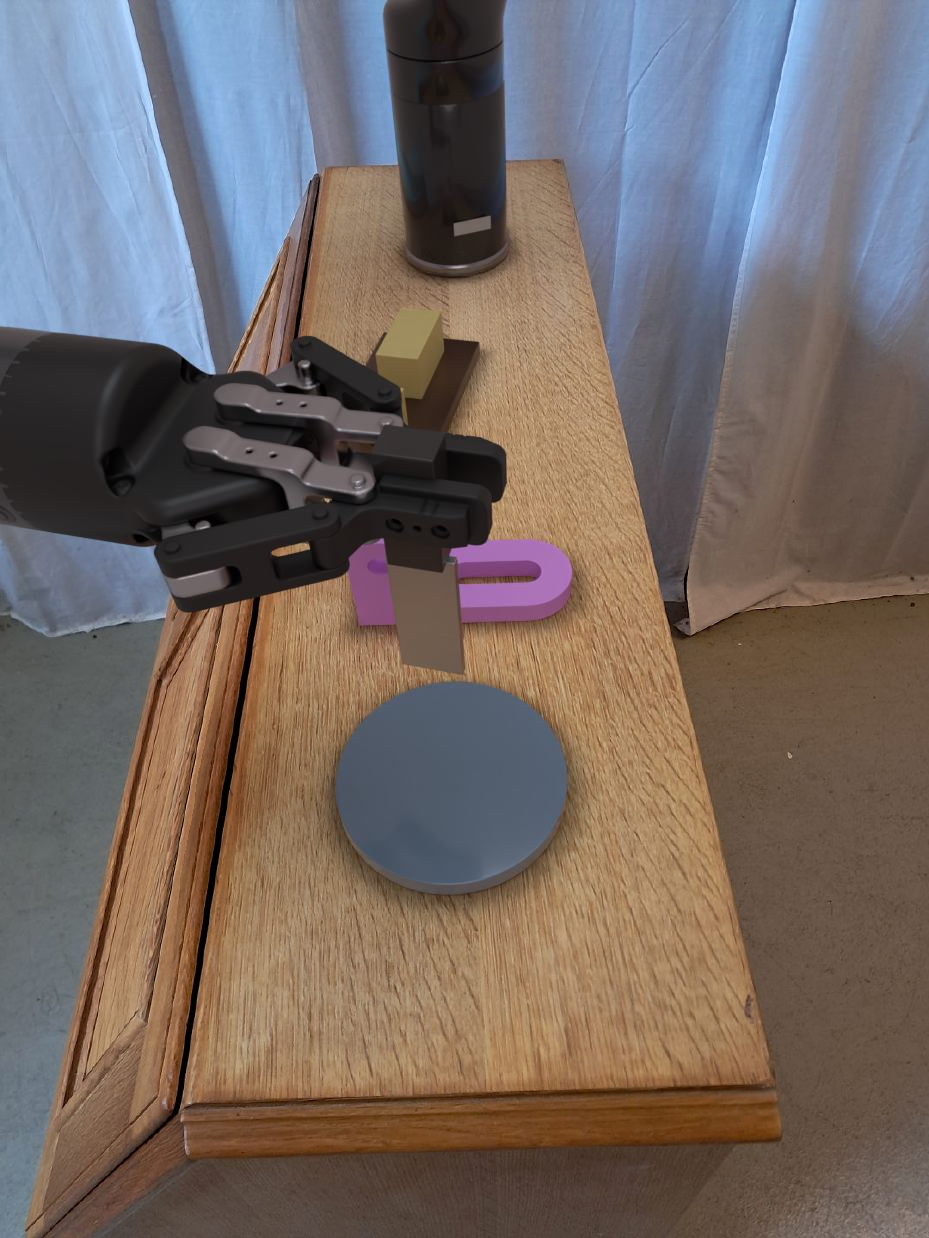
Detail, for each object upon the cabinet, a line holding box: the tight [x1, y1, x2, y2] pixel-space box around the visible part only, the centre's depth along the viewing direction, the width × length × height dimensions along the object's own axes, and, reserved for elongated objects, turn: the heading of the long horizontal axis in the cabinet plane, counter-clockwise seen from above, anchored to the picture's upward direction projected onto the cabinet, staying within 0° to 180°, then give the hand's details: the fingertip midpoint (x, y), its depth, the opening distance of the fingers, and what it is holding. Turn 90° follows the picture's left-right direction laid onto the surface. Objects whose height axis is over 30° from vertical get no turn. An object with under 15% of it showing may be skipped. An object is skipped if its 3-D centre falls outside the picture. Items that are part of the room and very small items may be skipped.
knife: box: [370, 425, 466, 676], centre depth 36 cm, size 2×3×12 cm, turn 75°
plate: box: [334, 681, 569, 896], centre depth 48 cm, size 12×12×1 cm
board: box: [348, 331, 481, 454], centre depth 69 cm, size 15×8×1 cm, turn 165°
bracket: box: [347, 538, 573, 627], centre depth 55 cm, size 13×6×7 cm, turn 89°
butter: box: [376, 306, 444, 399], centre depth 69 cm, size 6×3×4 cm, turn 165°
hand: (495, 495), depth 32 cm, fingers closed on knife, 1 cm apart
